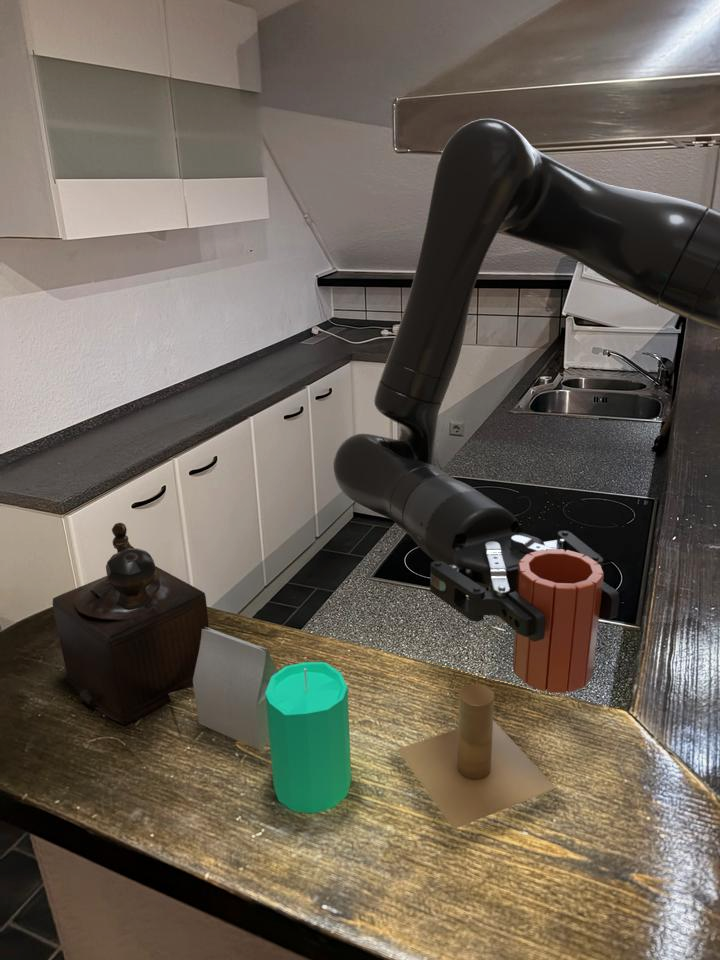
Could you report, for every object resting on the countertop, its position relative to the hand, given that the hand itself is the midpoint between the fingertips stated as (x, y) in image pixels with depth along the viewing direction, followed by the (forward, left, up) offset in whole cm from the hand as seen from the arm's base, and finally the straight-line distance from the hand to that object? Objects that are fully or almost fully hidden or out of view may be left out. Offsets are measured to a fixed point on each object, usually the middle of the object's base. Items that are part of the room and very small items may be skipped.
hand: (578, 618), depth 55 cm
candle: (+19, -6, -15) cm, 25 cm away
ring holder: (+7, -2, -14) cm, 16 cm away
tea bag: (+22, -15, -15) cm, 31 cm away
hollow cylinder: (0, -2, -6) cm, 6 cm away
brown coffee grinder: (+28, -25, -15) cm, 40 cm away
